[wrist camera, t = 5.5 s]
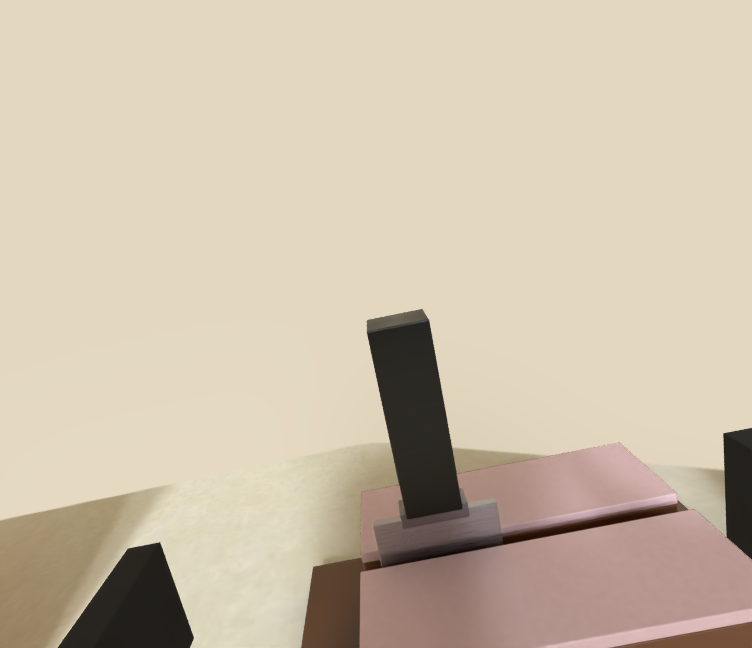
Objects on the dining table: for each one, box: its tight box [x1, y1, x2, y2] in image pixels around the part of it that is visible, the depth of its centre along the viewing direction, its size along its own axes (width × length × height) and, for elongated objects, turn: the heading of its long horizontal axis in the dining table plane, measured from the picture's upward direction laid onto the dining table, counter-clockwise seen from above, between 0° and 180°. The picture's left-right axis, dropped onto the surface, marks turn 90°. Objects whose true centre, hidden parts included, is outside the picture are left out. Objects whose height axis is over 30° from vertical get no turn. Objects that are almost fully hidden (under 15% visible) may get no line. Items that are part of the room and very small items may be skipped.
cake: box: [360, 443, 752, 648], centre depth 23 cm, size 16×12×7 cm
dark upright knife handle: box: [367, 309, 503, 568], centre depth 22 cm, size 6×2×19 cm, turn 92°
